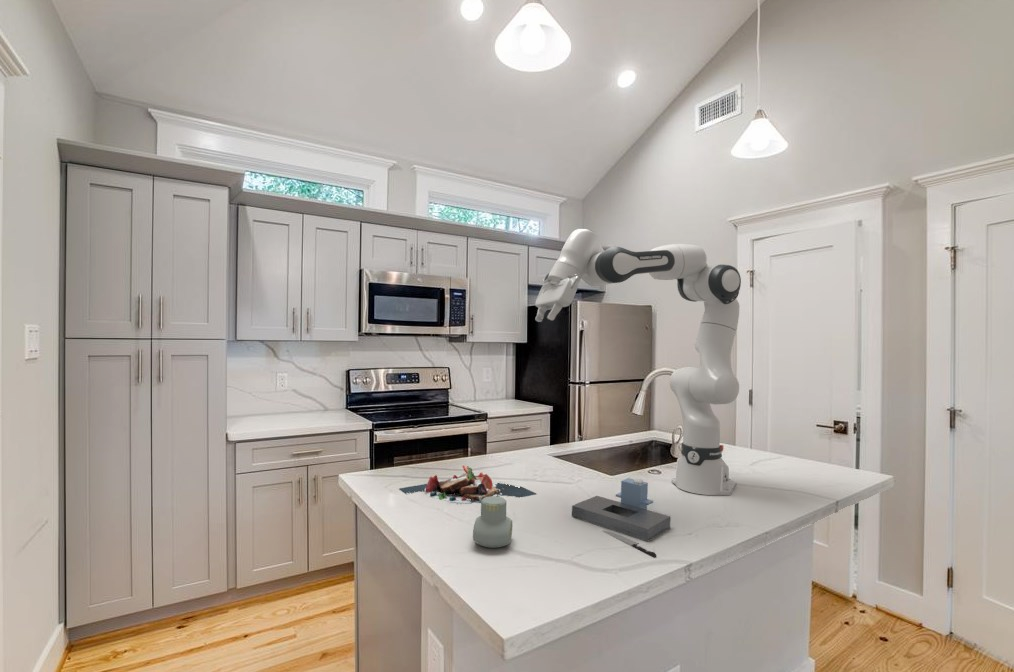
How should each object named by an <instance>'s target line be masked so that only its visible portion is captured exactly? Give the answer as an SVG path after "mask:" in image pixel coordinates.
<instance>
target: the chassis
mask: <svg viewBox="0 0 1014 672" xmlns="http://www.w3.org/2000/svg"><path fill="white" fill-rule="evenodd" d="M571 518H573V519H578V520H580V521H583V522H587V523H590V524H594V525H596V526H599V527H602V528H605V529H608V530H611V531H614V532H617V533H619V534H623V535H626V536H628V537H629V536H630V537H633V538H635V539H639V540H642V541H645V542H646V543H647V542H650V541H651V540H653V539H655V538H657V537H658V536H660V535H661V534H663V533H665V532H666V531H668V530H669V529H671V515H666V514H663V513H661V512H657V511H652V510H649V509H647V510H646V509H643V508H639V507H636V506H632V505H628V504H625V503H621V501H617V500H613V499H610V498H607V497H603V496H599V495H594V496H592V497H590V498H587V499H585V500H582V501H580V502H578V503H575V504H572V505H571Z"/></svg>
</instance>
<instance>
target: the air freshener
mask: <svg viewBox="0 0 1014 672" xmlns="http://www.w3.org/2000/svg"><path fill="white" fill-rule="evenodd" d="M472 531H473V532H472V540H473V541H474V542H475V543H476V544H478V545H480V546H482V547H484V548H488V549H496V548H497V549H498V548H501V547H502V548H503V547H505V546H506V545H507V546H508V545H509V544H510V543H511V542H512V541H511V540H512V537H513V536H512V534H513V520H512V519H511V518H510V517H509V516H508V515H507V499H505V498H504V497H503V496H499V497H497V495H493V496H490V497H485V498H483V499H482V500H481V503H480V516H478V517H476V519H475V521H474V523H473V530H472Z"/></svg>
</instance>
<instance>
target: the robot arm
mask: <svg viewBox="0 0 1014 672" xmlns="http://www.w3.org/2000/svg"><path fill="white" fill-rule="evenodd" d="M641 274H642V275H643V274H649V275H650V276H651V277H652V278H653V279H654V280H659V281H671V280H672V281H673V280H674V281H675V280H676V281H677V284H676V286H677V291H678V293H679V296H680V297H681V298H683V299H684V300H686V301H689V302H703V304H704V312H703V315H702V318H701V320H700V324H699V328H698V331H697V332H698V333H697V335H696V338H695V343H694V348H695V350H696V351H697V353H698V354H699V367H698V366H685V367H683V366H682V367H680V368H677V369H675V370H673V372H672V374H671V375H670V377H669V387H670V390H671V391H672V392H673V394H674V395H675V397H676V398H677V400H678V404H679V407H680V411H681V415H682V442H681V446H680V451H681V452H680V453H681V456H679V457H678V458H677V459H676V468H675V469H676V470H675V477H674V478H672V479H671V483H673V484H674V485H675V486H676V487H677V488H679V489H680V490H683V491H684V492H688V493H691V494H692V493H693V494H698V495H707V496H709V495H711V496H713V495H714V496H716V495H719V496H720V495H721V496H730V495H732V493H733V491H734V489H735V487H736V485H737V481H736V480H734V479H730V475H729V474H730V472H729V471H730V470H729V466H728V465H727V463H726V462H725V461H724V460H723V454H722V453H723V451H724V447H725V446H724V445H723V444H720V441H721V437H720V436H721V423H720V420H719V419H718V417H717V416H716V415H715V413H714V412H713V408H712V406H711V405H717V406H718V405H726V404H731V403H732V402H734V401H735V400H736V399H737V398H738V395H739V393H740V383H739V381H738V379H737V377H736V375H735V374H734V372H733V368H732V361H731V357H732V356H731V354H732V349H733V347H734V342H735V341H734V340H735V336H736V333H737V329H738V325H739V319H740V302H739V300H737V298H738V297H739V294H740V291H741V284H742V277H741V275H740V272H739V271H738V269H737V267H735V266H732V265H729V264H717V265H708V263H707V254H706V252H705V250H704V248H702V247H701V246H699V245H696V244H690V243H689V244H688V243H671V244H664V245H660V246H657V247H654V248H652V249H650V250H648V251H647V250H645V251H633V250H632V251H631V250H629V249H626V248H624V247H622V246H621V247H620V246H611V247H609V248H607V249H605V250H604V248H603V246H602V244H601V243H600V240H599V235H598V234H597V233H596V231H593V230H592V229H588V228H577V229H575V230H573V231H572V232H571V233H570V235H569V236H568V237H567V239H566V241H565V243H564V245H563V247H562V249H561V250H560V255H559V257H558V258H557V259H556V261H555V262H554V265H553V266H552V268H551V269H550V271H549V272H548V273H547V274H546V275H545V276H544V278H543V279H542V282H543V285H542V286H541V288H540V290H539V293H537V297H536V300H535V303H534V304H535V307H536V308H538V309H537V313H536V316H535V319H534V320H535V321H536V322H538V323H539V322H540V323H542V322H543V319H544V317H545V313H546V312H547V311H548V310H549V311H550V312H548V314H547V316H546V318H547V320H550V321H554V320H555V319H556V317H557V316H558V314H559V313H560V312H561V310H562V309H563V308H566V307H569V306H570V305H571V304H572V303H573V300H574V297H575V296H576V294H577V293H576V292H577V291H578V287H579V283H580V281H581V280H582V281H584V282H585V283H586V284H587V285H589V286H591V287H602V286H606V285H611V284H619V283H623V282H625V281H627V280H629V279H630V278H631V277H633V276H635V275H641Z"/></svg>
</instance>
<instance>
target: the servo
mask: <svg viewBox="0 0 1014 672" xmlns="http://www.w3.org/2000/svg"><path fill="white" fill-rule="evenodd" d="M620 484H621V486H620V492H618V493H616V494H615V497H616V498H620V502H621V503H625V504H628V505H632V506H636V507H639V508H643V509H646V510H648V506H649V505H652V504H653V503H654V500H652V499H649V498H648V493H649V492H648V490H649V489H648V488H649V487H648V485H649V483H648V482H647V481H644V480H643V479H642V478H631V477H628V478H625V479H622V480H621V481H620Z"/></svg>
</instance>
